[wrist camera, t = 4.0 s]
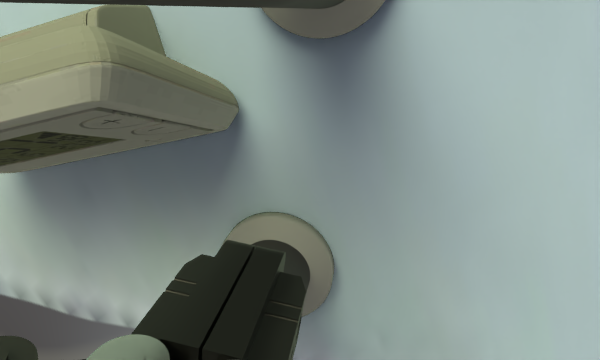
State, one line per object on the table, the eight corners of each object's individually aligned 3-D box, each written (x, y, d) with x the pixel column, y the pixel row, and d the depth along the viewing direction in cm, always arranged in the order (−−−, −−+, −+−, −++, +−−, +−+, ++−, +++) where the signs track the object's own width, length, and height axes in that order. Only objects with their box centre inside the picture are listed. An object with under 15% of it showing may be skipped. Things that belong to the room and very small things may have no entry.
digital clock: (9, 164, 27) (-198, 249, 18) (-38, 14, 24) (-323, 17, 14) (250, 170, 24) (163, 276, 15) (235, 0, 21) (110, -8, 11)
